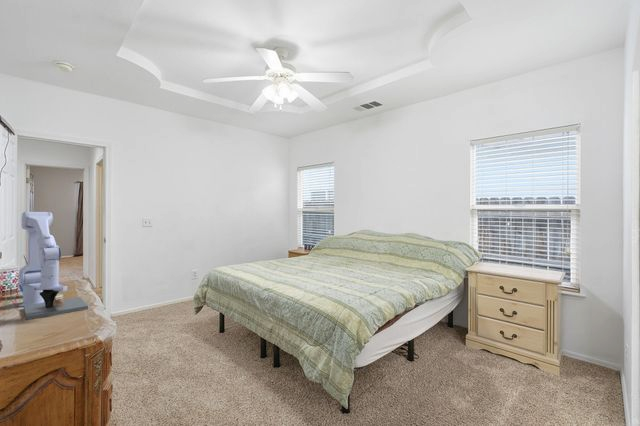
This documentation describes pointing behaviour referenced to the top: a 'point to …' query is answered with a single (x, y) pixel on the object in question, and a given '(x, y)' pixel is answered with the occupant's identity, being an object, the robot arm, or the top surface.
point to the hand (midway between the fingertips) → (49, 307)
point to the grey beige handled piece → (58, 300)
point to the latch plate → (54, 308)
